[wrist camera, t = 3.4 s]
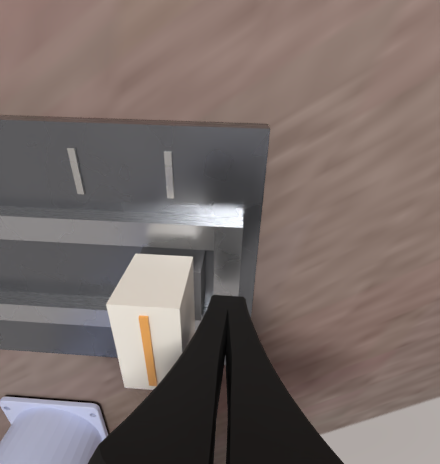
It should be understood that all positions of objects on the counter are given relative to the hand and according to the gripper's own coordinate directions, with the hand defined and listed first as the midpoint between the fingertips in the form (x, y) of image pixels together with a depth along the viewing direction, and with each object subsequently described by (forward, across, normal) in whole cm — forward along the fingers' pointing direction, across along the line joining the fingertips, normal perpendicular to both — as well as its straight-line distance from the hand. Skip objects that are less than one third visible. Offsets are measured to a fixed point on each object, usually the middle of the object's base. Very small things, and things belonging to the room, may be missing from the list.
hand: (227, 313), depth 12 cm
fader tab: (+3, +3, 0) cm, 4 cm away
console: (+4, +10, 0) cm, 10 cm away
